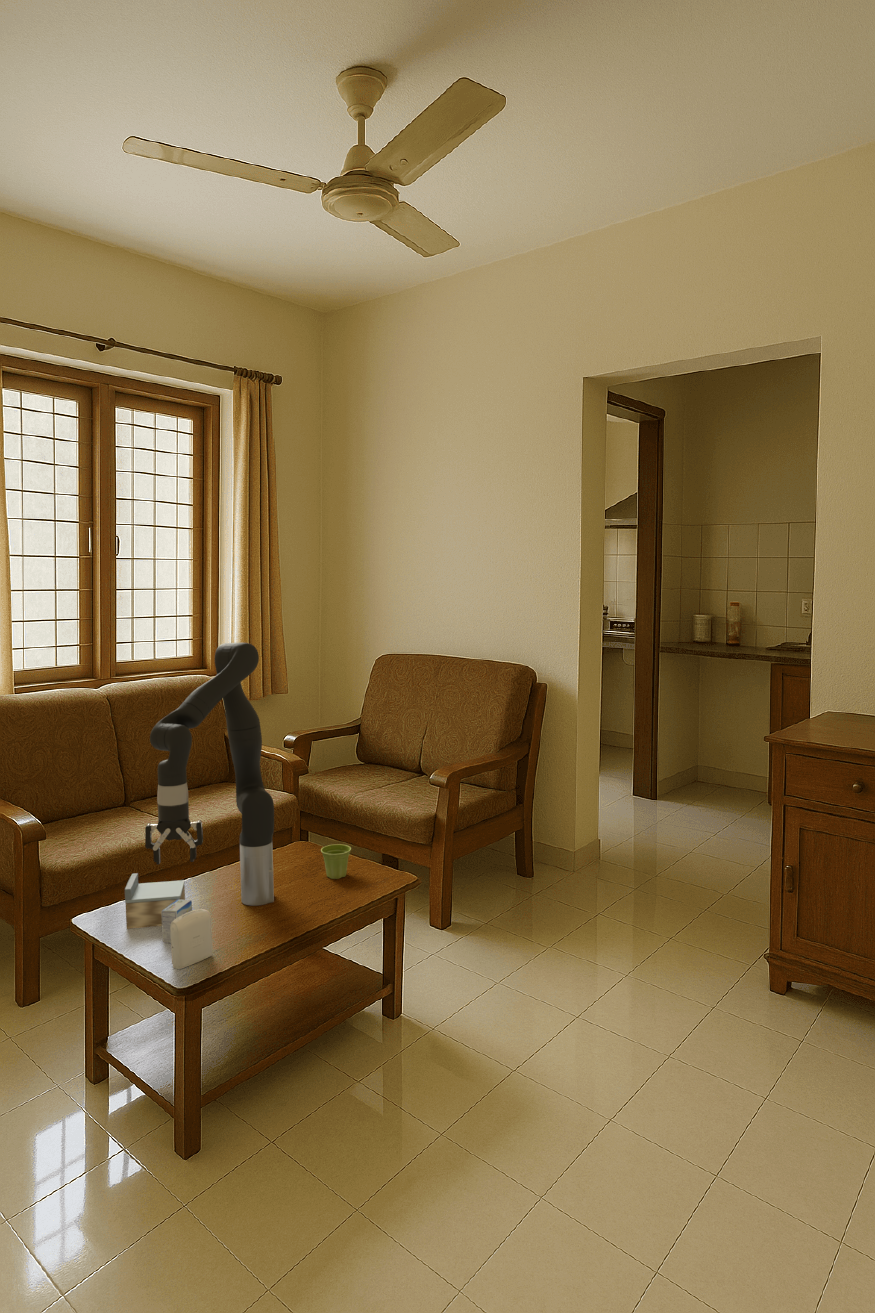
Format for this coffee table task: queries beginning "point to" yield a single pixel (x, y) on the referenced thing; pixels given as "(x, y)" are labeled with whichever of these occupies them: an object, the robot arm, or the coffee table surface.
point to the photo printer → (191, 938)
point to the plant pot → (336, 860)
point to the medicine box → (173, 916)
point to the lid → (152, 890)
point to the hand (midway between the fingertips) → (175, 862)
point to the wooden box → (147, 912)
